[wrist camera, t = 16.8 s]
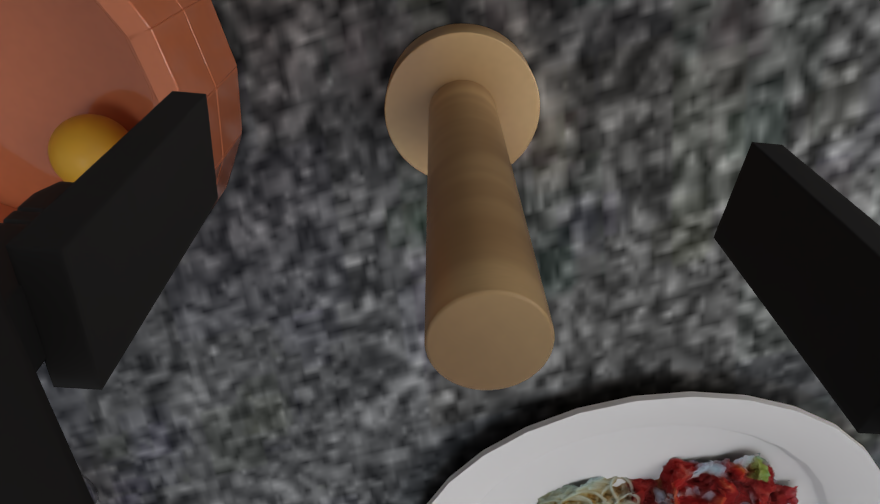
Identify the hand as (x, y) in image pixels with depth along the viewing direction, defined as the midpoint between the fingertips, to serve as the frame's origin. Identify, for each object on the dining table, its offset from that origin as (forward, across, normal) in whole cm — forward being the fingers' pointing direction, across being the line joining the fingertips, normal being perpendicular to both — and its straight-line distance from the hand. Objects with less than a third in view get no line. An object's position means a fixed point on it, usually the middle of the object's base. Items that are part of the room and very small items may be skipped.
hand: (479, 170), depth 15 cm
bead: (+8, -14, -5) cm, 17 cm away
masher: (+10, 0, -2) cm, 11 cm away
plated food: (+10, +15, -30) cm, 36 cm away
